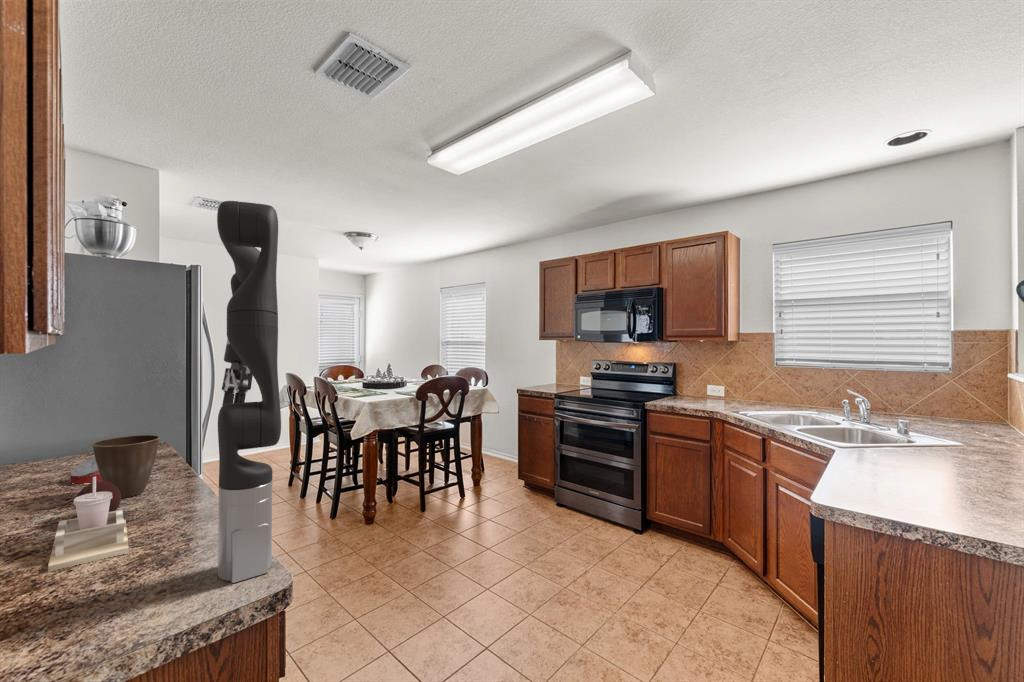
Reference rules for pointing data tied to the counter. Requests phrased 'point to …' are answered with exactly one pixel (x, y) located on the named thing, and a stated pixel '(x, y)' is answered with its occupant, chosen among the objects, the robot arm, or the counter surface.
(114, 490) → the potato
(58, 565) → the dock
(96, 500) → the smoothie
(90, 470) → the canned food
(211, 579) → the counter surface
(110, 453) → the plant pot
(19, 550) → the counter surface
